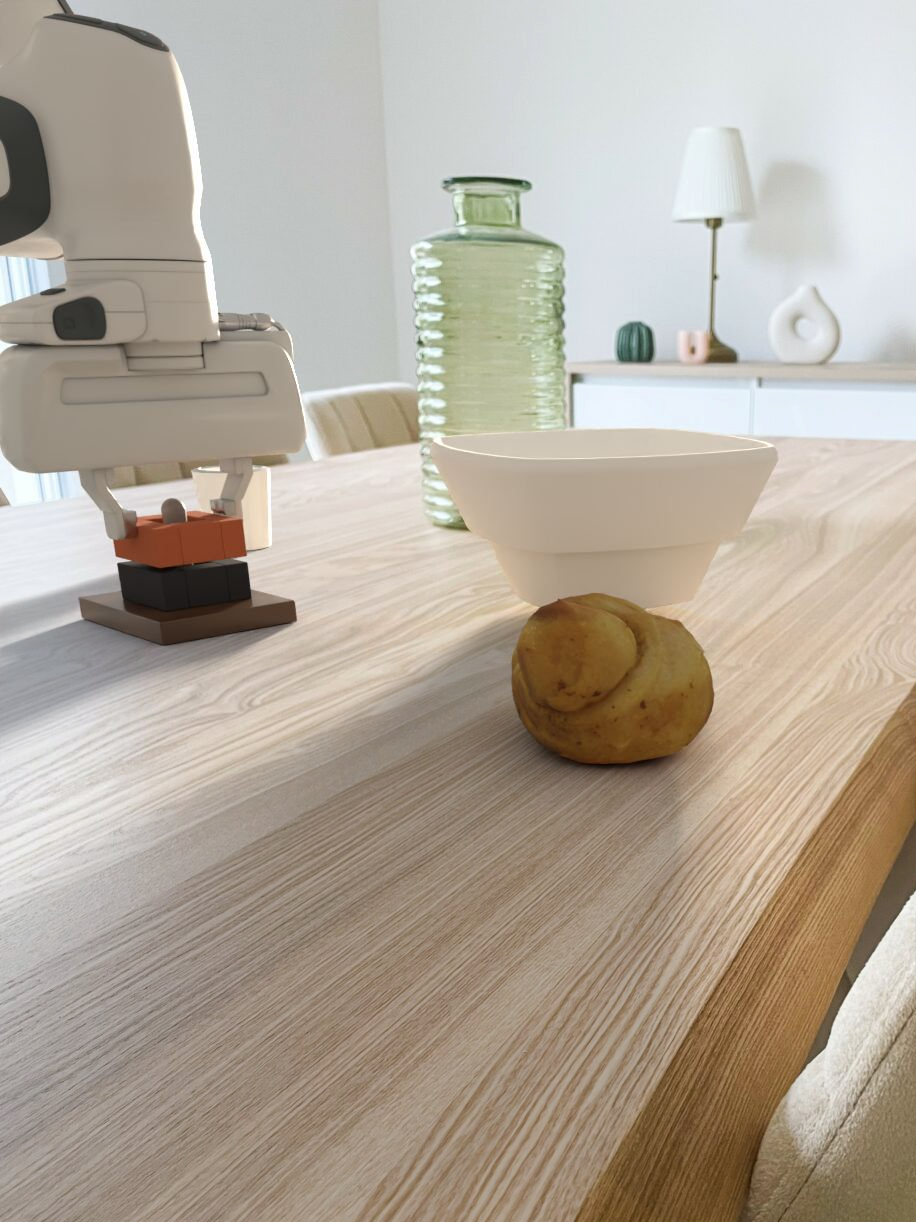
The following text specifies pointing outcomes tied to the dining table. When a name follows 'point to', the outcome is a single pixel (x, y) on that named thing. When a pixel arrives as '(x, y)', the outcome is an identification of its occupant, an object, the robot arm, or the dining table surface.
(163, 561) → the terracotta pad
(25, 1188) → the dining table surface
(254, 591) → the peg stand
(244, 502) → the cream cup
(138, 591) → the charcoal square ring
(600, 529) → the bowl
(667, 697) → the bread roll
